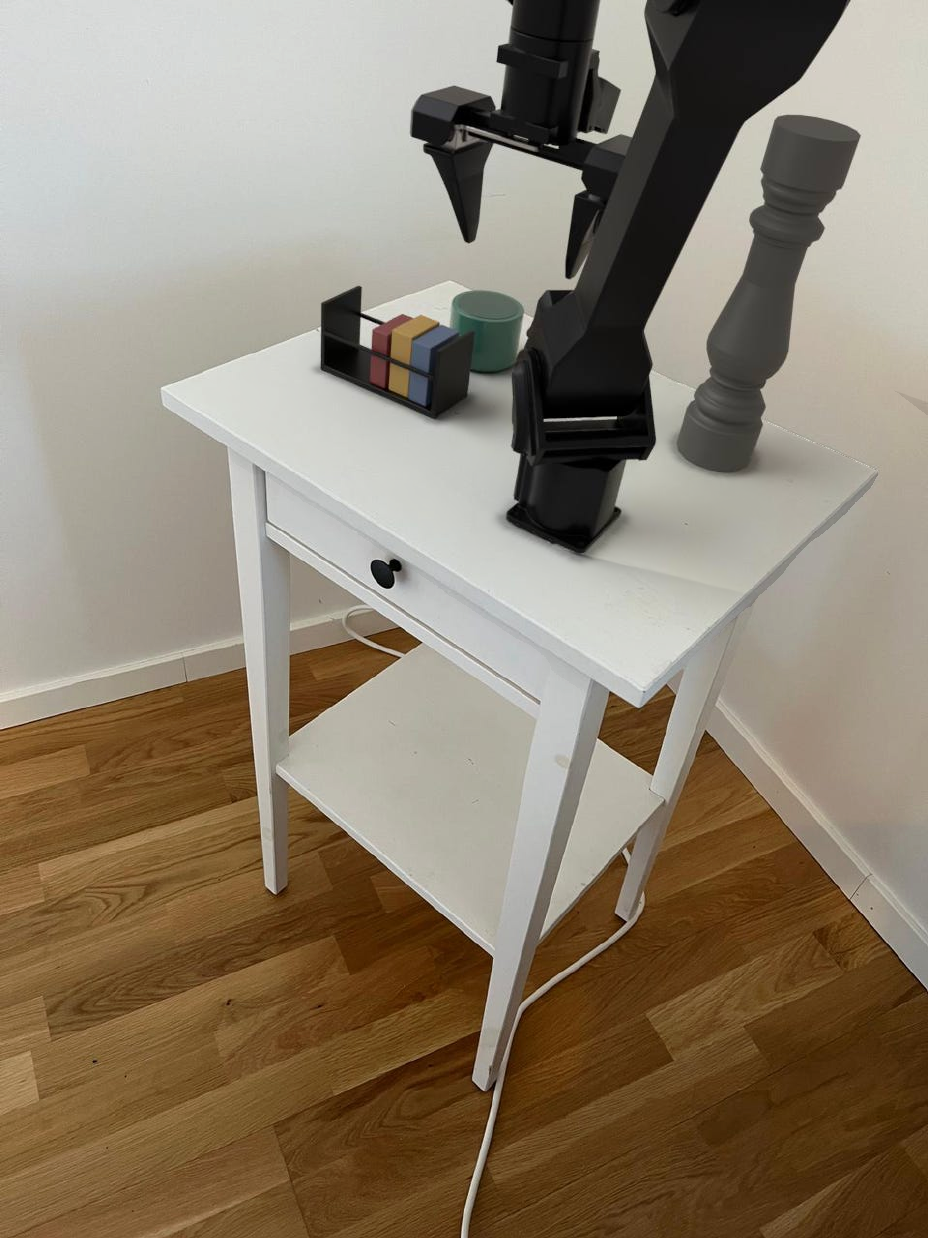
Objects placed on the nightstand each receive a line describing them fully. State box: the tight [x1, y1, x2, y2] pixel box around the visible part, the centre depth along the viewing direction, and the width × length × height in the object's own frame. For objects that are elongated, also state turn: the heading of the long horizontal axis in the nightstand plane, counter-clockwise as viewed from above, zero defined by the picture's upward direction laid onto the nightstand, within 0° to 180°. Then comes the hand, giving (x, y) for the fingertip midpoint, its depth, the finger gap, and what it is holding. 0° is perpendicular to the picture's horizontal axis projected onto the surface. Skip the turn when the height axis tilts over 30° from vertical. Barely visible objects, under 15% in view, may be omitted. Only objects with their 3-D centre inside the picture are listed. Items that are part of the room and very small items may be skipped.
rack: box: [320, 285, 475, 420], centre depth 82 cm, size 12×5×6 cm, turn 57°
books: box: [370, 313, 460, 406], centre depth 81 cm, size 6×4×5 cm
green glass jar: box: [448, 289, 525, 373], centre depth 88 cm, size 6×6×5 cm
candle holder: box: [676, 114, 862, 473], centre depth 73 cm, size 6×6×25 cm
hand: (519, 259), depth 76 cm, fingers open, 9 cm apart
